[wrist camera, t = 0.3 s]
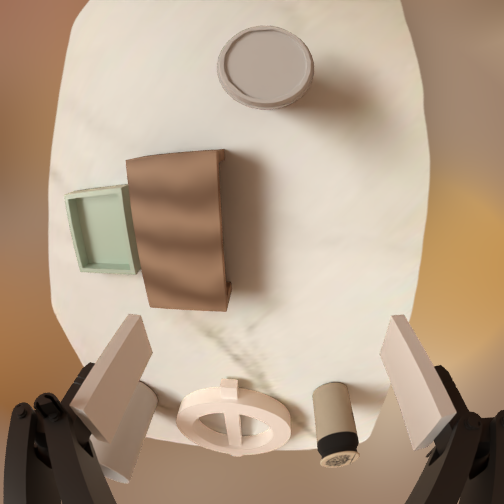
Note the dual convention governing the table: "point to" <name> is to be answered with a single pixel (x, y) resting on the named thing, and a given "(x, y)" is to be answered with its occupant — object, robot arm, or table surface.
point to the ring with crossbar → (234, 419)
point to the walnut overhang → (180, 229)
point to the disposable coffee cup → (265, 67)
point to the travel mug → (335, 425)
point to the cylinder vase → (127, 436)
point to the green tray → (103, 230)
